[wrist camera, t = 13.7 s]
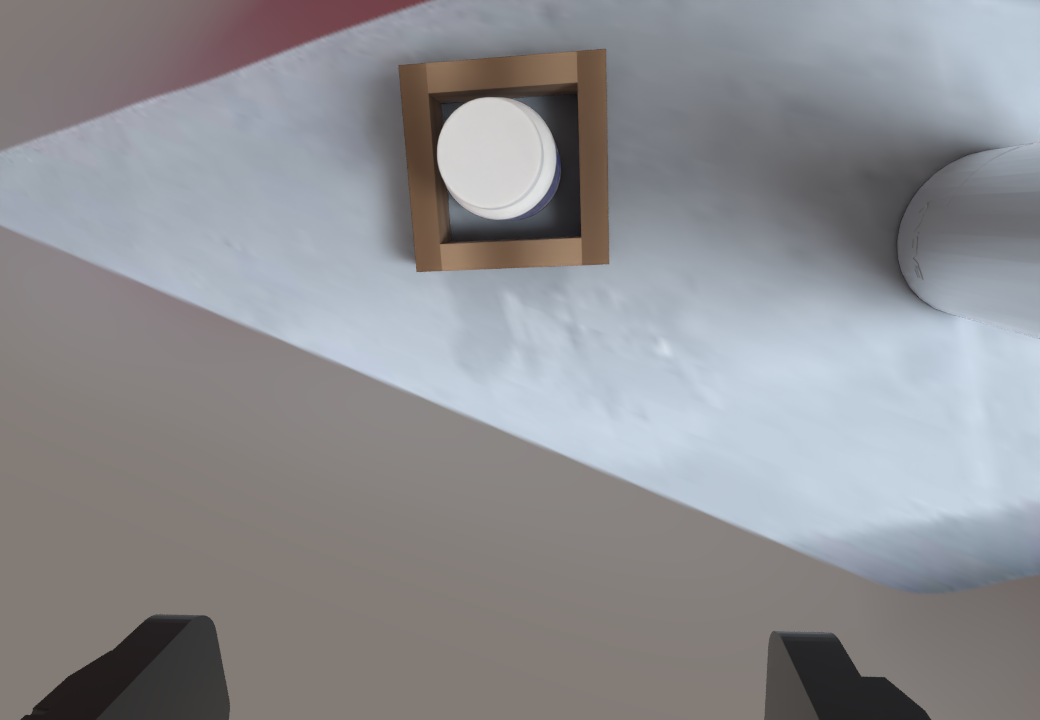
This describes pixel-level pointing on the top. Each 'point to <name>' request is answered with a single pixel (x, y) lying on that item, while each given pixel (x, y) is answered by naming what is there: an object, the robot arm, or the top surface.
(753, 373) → the top surface
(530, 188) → the pill bottle
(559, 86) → the socket block
